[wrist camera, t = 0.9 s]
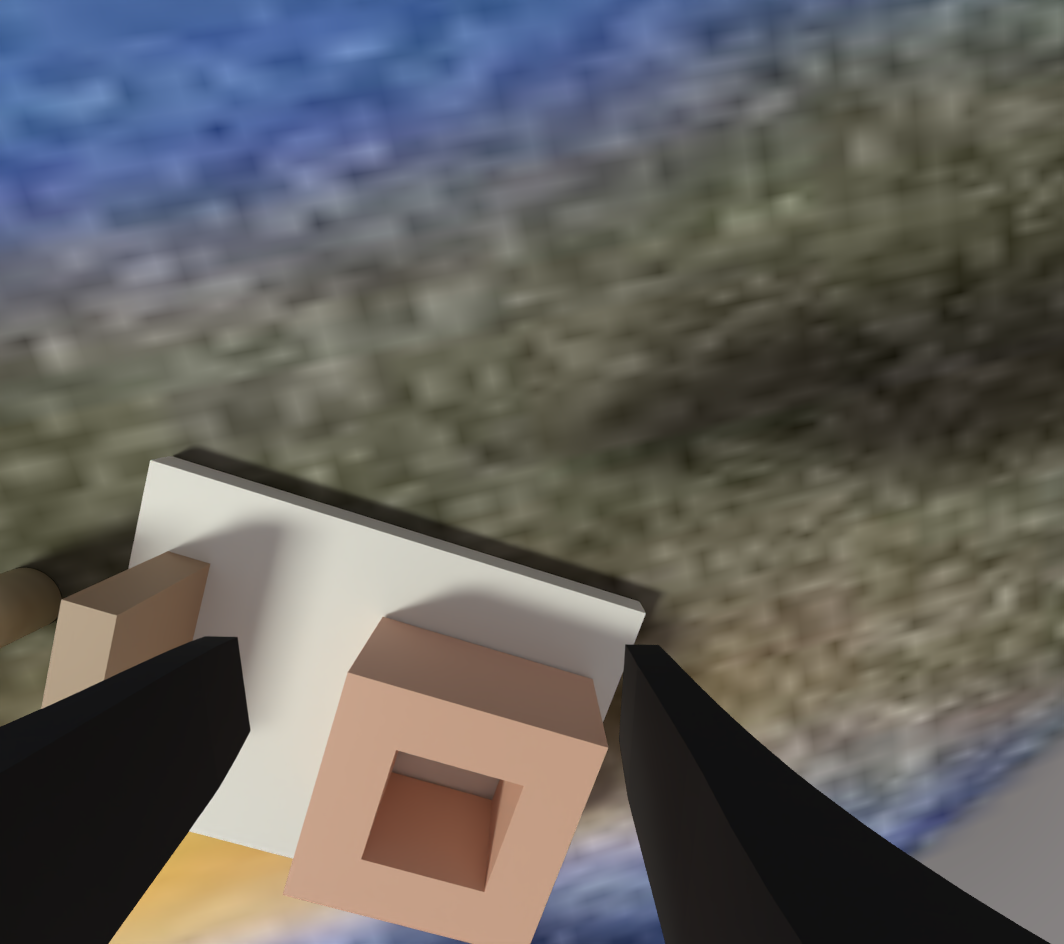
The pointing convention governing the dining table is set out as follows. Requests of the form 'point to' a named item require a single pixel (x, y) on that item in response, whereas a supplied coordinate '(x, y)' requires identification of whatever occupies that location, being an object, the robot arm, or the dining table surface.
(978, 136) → the dining table surface
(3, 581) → the dowel
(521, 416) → the dining table surface
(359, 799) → the sliding block
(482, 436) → the dining table surface
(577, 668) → the base board
